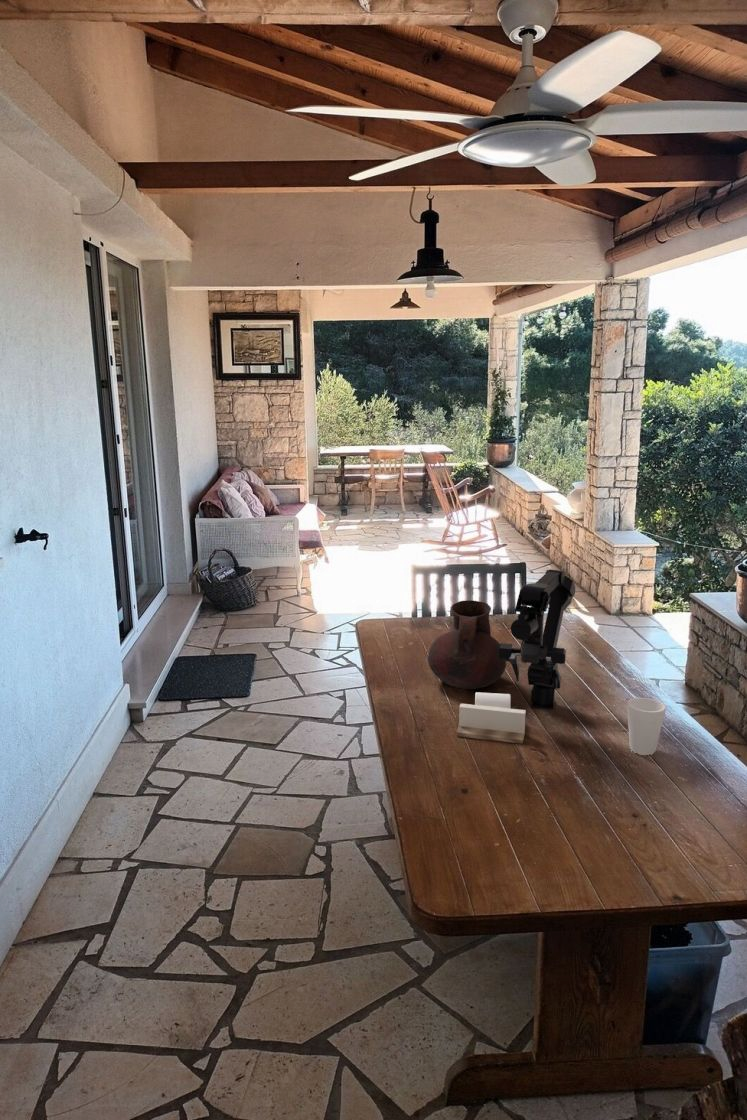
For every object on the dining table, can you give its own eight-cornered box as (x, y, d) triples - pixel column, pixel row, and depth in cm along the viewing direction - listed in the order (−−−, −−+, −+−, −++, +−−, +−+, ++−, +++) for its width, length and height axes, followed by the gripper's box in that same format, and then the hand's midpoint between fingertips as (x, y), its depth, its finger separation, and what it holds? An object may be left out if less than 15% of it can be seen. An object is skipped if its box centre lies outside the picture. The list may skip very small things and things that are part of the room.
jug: (417, 691, 245) (418, 615, 240) (441, 665, 268) (442, 595, 262) (495, 703, 236) (497, 624, 231) (512, 674, 259) (515, 602, 253)
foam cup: (661, 745, 209) (665, 700, 206) (661, 761, 200) (666, 714, 198) (624, 740, 212) (627, 695, 209) (623, 755, 203) (626, 709, 201)
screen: (524, 733, 216) (525, 710, 214) (522, 743, 210) (523, 719, 208) (460, 726, 221) (460, 703, 219) (456, 736, 215) (457, 712, 213)
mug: (509, 727, 220) (510, 700, 219) (474, 724, 222) (475, 698, 220) (508, 709, 232) (509, 684, 230) (475, 707, 233) (476, 682, 232)
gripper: (495, 635, 213) (494, 689, 216) (566, 641, 208) (562, 696, 212) (500, 623, 223) (498, 674, 227) (567, 628, 218) (564, 680, 222)
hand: (530, 681), depth 221 cm, fingers open, 7 cm apart
